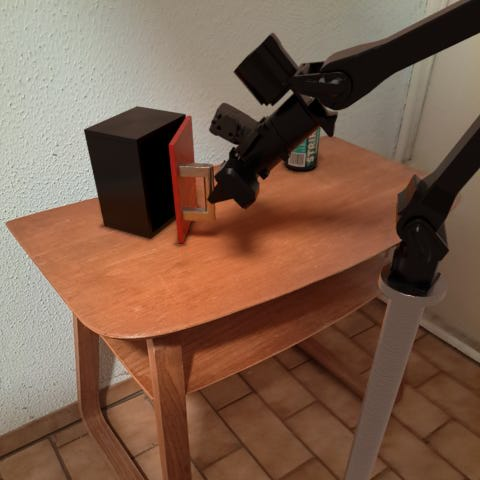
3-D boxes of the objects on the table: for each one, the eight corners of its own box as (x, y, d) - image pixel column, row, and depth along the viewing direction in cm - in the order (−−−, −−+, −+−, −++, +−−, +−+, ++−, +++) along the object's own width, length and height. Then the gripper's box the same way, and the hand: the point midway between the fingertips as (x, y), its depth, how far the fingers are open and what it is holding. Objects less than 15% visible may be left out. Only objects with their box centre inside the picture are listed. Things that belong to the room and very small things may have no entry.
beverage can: (314, 159, 106) (319, 103, 98) (318, 172, 100) (325, 113, 93) (282, 160, 106) (286, 103, 98) (285, 172, 100) (289, 114, 92)
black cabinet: (192, 206, 89) (185, 113, 78) (150, 238, 79) (136, 139, 69) (149, 195, 92) (137, 106, 81) (103, 225, 83) (83, 129, 72)
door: (225, 207, 88) (223, 116, 77) (214, 245, 77) (210, 146, 67) (193, 205, 88) (186, 115, 78) (178, 243, 78) (168, 144, 67)
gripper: (256, 70, 70) (190, 140, 79) (228, 103, 56) (152, 185, 65) (304, 127, 74) (236, 188, 82) (290, 173, 60) (209, 241, 68)
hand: (210, 198), depth 74 cm, fingers closed, pressing on door
